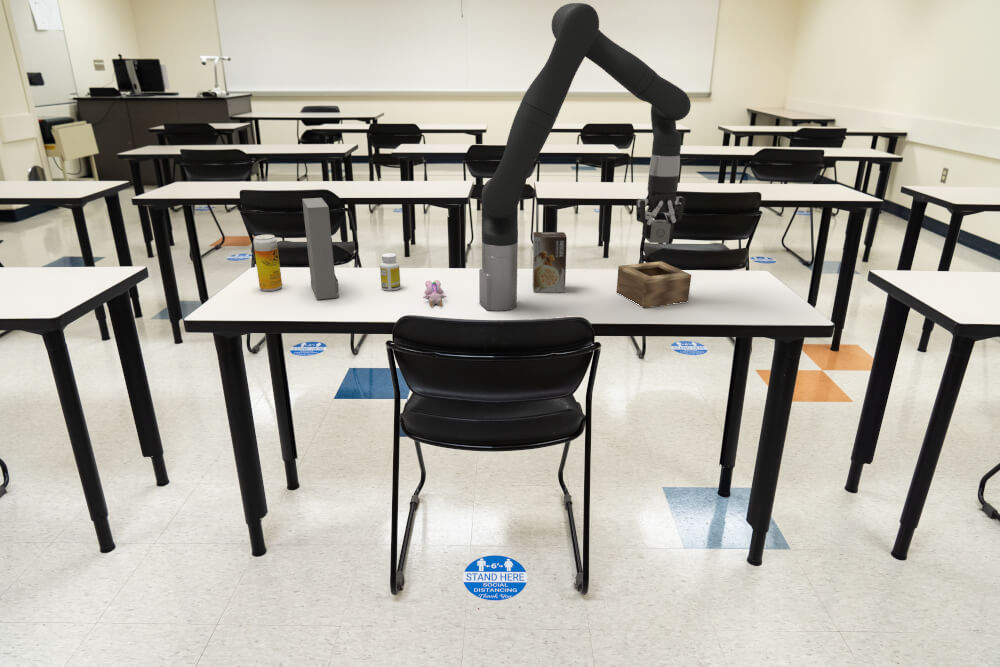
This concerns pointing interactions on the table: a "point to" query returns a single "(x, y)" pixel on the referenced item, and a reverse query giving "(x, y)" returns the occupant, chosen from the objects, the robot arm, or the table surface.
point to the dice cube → (659, 231)
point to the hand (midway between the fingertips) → (657, 237)
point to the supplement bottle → (390, 272)
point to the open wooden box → (653, 284)
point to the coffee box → (549, 261)
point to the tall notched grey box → (320, 248)
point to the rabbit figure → (434, 292)
